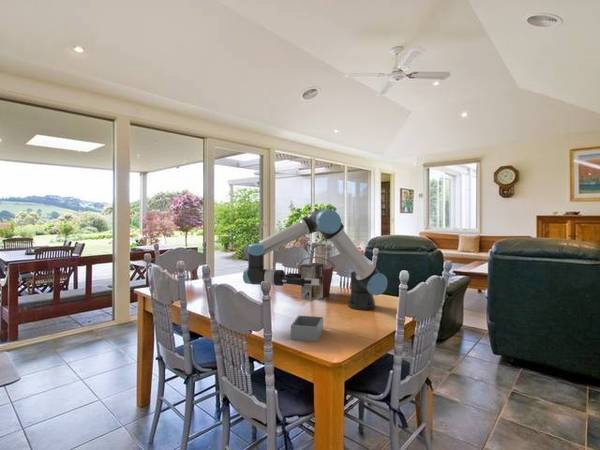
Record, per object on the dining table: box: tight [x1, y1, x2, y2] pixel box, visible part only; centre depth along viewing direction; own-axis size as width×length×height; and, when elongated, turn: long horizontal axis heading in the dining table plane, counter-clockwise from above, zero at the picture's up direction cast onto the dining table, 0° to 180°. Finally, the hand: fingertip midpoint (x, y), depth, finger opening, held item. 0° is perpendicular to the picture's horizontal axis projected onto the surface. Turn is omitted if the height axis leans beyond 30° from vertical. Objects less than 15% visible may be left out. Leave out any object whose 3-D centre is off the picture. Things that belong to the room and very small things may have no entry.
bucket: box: [295, 256, 336, 300], centre depth 227 cm, size 24×22×25 cm
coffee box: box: [300, 262, 324, 302], centre depth 164 cm, size 9×6×16 cm
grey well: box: [290, 315, 324, 342], centre depth 156 cm, size 12×15×6 cm
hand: (321, 279), depth 163 cm, fingers closed on coffee box, 10 cm apart
